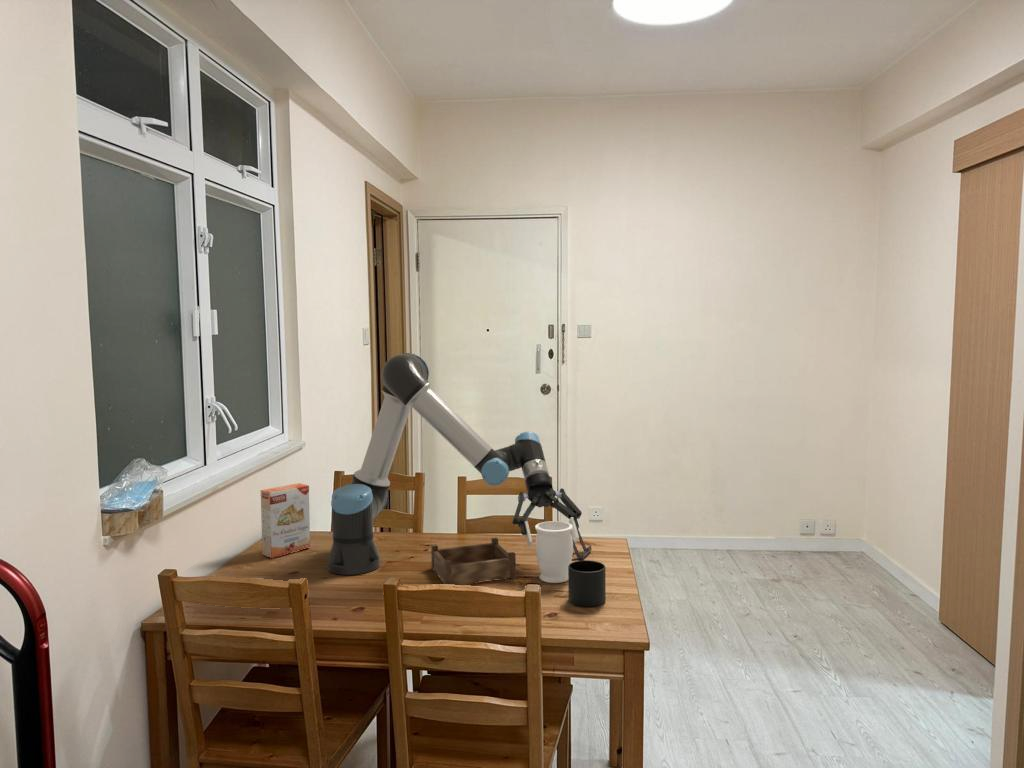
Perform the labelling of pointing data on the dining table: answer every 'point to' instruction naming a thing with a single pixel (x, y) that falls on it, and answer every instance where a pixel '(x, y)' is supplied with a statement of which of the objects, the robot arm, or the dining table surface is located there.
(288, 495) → the cracker box
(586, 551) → the portable electronic device stand
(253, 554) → the dining table surface
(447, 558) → the crate
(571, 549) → the jar
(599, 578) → the mug
